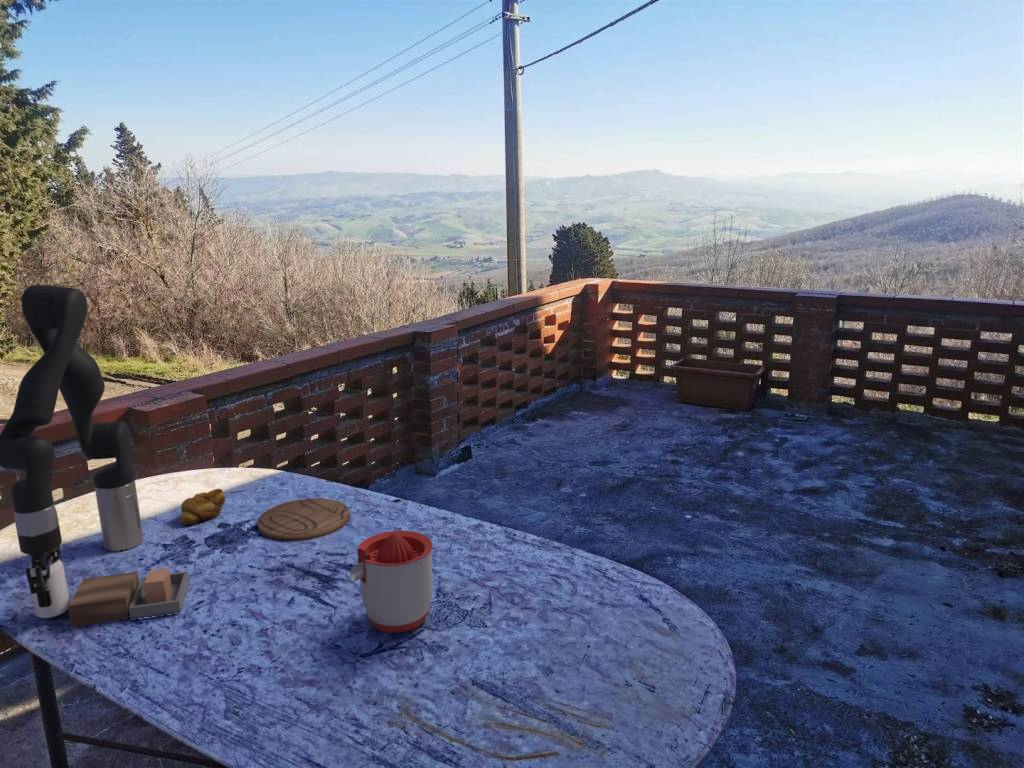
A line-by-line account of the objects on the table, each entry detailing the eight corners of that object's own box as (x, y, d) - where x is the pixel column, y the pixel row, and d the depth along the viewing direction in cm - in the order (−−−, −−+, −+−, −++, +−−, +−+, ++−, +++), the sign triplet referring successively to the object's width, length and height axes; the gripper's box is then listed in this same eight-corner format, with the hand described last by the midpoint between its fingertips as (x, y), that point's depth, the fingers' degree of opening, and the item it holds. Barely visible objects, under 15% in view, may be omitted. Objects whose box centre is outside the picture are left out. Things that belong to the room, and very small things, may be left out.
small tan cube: (149, 570, 165) (169, 567, 166) (153, 594, 167) (172, 591, 168) (143, 583, 160) (163, 580, 160) (147, 607, 161) (167, 605, 162)
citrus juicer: (346, 611, 160) (340, 526, 155) (423, 594, 167) (420, 512, 162) (362, 649, 146) (355, 558, 141) (445, 629, 153) (441, 541, 148)
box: (143, 588, 170) (141, 577, 169) (189, 582, 173) (188, 571, 172) (130, 621, 157) (128, 608, 156) (180, 613, 160) (179, 601, 159)
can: (54, 620, 155) (45, 569, 152) (28, 617, 157) (18, 566, 154) (77, 604, 162) (69, 555, 159) (52, 601, 163) (43, 552, 160)
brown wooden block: (87, 598, 166) (83, 578, 165) (140, 591, 169) (137, 571, 168) (71, 627, 155) (68, 606, 154) (128, 618, 158) (125, 598, 157)
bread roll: (189, 530, 201) (186, 503, 199) (169, 522, 206) (166, 495, 204) (230, 514, 211) (228, 488, 209) (210, 506, 216) (207, 481, 214)
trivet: (311, 497, 223) (311, 491, 222) (368, 517, 209) (368, 511, 208) (239, 526, 203) (238, 520, 203) (297, 550, 189) (296, 544, 188)
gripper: (29, 515, 160) (42, 584, 164) (4, 544, 147) (19, 618, 151) (67, 511, 162) (79, 579, 166) (47, 539, 148) (60, 612, 153)
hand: (50, 597), depth 158 cm, fingers closed on can, 6 cm apart
